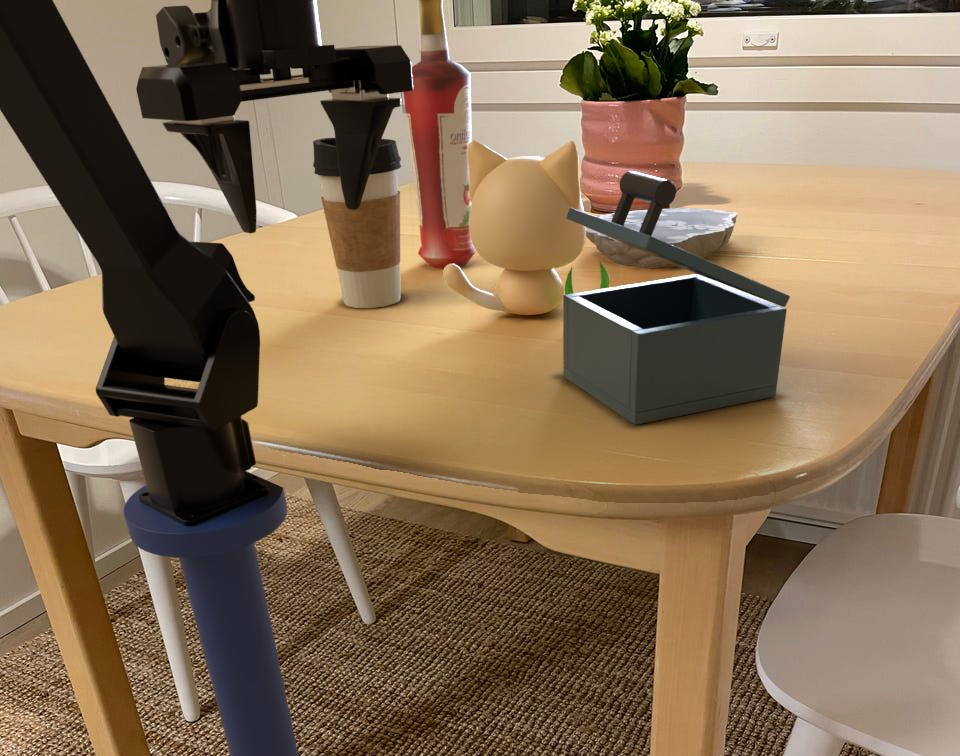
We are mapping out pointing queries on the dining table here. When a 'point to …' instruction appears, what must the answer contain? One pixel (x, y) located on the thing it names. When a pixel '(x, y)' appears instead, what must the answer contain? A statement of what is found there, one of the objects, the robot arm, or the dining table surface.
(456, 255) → the liquor
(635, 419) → the cooler
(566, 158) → the beige cat figurine
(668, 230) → the grey flat stone slab
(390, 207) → the coffee cup
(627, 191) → the lid
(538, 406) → the dining table surface
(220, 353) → the robot arm
